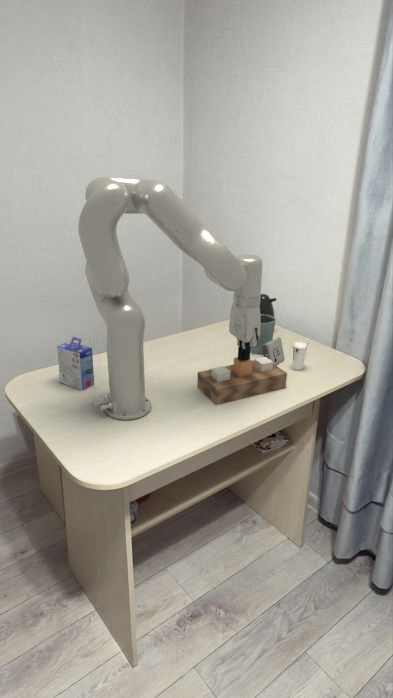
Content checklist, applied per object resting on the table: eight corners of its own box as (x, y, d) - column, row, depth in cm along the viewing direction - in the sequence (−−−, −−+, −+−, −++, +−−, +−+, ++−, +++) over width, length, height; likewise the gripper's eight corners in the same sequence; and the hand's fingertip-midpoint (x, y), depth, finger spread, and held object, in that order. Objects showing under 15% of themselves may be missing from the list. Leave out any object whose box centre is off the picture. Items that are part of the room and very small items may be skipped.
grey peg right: (260, 383, 143) (262, 364, 140) (253, 378, 146) (254, 359, 143) (271, 380, 144) (273, 361, 142) (264, 375, 148) (265, 356, 145)
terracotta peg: (239, 383, 139) (240, 363, 136) (232, 377, 142) (233, 358, 140) (251, 380, 140) (252, 360, 138) (244, 375, 144) (245, 355, 141)
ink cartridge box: (96, 383, 143) (92, 340, 138) (83, 391, 139) (78, 346, 133) (72, 375, 148) (68, 333, 142) (59, 382, 144) (54, 339, 138)
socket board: (216, 405, 133) (217, 389, 131) (197, 387, 142) (197, 372, 140) (285, 387, 143) (287, 373, 141) (263, 371, 152) (264, 357, 150)
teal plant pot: (243, 353, 166) (244, 321, 161) (246, 342, 175) (248, 312, 170) (272, 356, 164) (274, 324, 159) (274, 345, 173) (276, 314, 168)
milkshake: (301, 373, 152) (304, 345, 148) (287, 367, 155) (290, 339, 151) (309, 369, 154) (312, 341, 150) (296, 364, 158) (299, 336, 154)
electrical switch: (272, 368, 155) (272, 344, 152) (260, 365, 158) (260, 342, 155) (284, 360, 161) (284, 337, 158) (273, 357, 164) (272, 335, 161)
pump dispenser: (268, 337, 180) (271, 299, 173) (243, 332, 184) (245, 295, 178) (278, 329, 188) (281, 293, 182) (254, 324, 192) (256, 288, 186)
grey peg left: (217, 393, 136) (218, 373, 134) (211, 388, 140) (211, 368, 137) (229, 391, 138) (230, 371, 136) (222, 385, 141) (223, 365, 139)
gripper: (221, 294, 136) (220, 352, 143) (249, 309, 124) (246, 372, 131) (243, 291, 139) (241, 348, 146) (273, 305, 127) (268, 366, 134)
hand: (243, 359), depth 139 cm, fingers closed
